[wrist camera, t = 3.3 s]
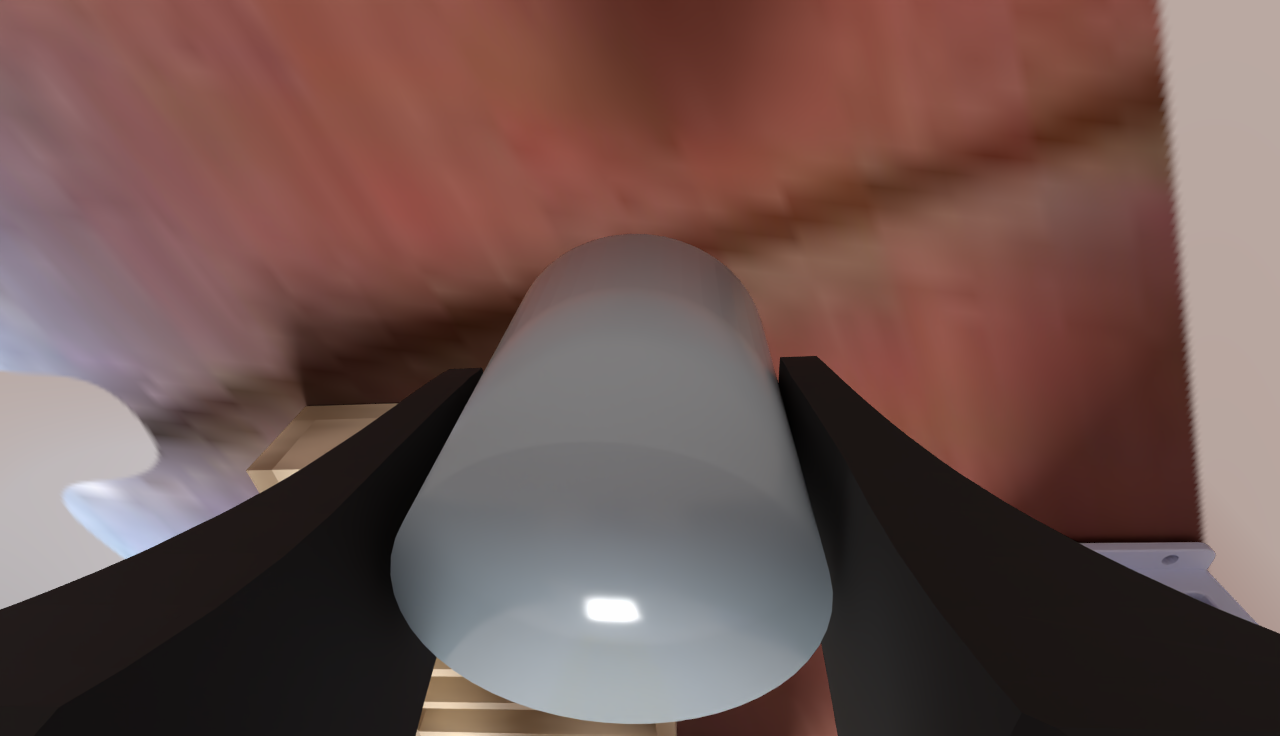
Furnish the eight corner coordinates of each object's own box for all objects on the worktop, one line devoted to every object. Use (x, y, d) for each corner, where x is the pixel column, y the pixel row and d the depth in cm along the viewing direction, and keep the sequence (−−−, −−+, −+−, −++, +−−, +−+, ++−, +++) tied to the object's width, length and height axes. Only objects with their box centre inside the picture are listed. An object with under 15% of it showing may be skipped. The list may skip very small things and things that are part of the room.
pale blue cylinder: (770, 225, 10) (859, 434, 5) (760, 448, 13) (813, 727, 8) (490, 242, 11) (321, 448, 6) (537, 453, 13) (453, 720, 8)
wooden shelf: (655, 394, 18) (652, 461, 16) (676, 671, 27) (676, 745, 24) (305, 406, 19) (246, 470, 17) (432, 669, 28) (406, 740, 25)
